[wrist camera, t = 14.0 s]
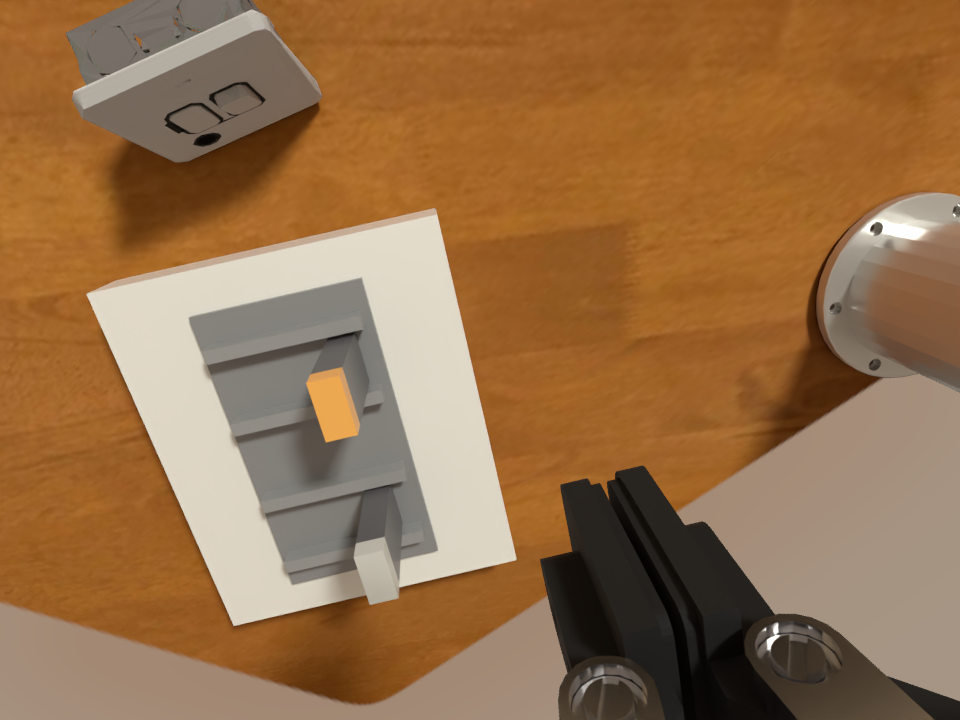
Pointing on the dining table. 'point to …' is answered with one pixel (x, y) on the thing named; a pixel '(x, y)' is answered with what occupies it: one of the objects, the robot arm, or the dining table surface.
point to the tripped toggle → (339, 387)
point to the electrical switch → (187, 74)
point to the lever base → (314, 416)
